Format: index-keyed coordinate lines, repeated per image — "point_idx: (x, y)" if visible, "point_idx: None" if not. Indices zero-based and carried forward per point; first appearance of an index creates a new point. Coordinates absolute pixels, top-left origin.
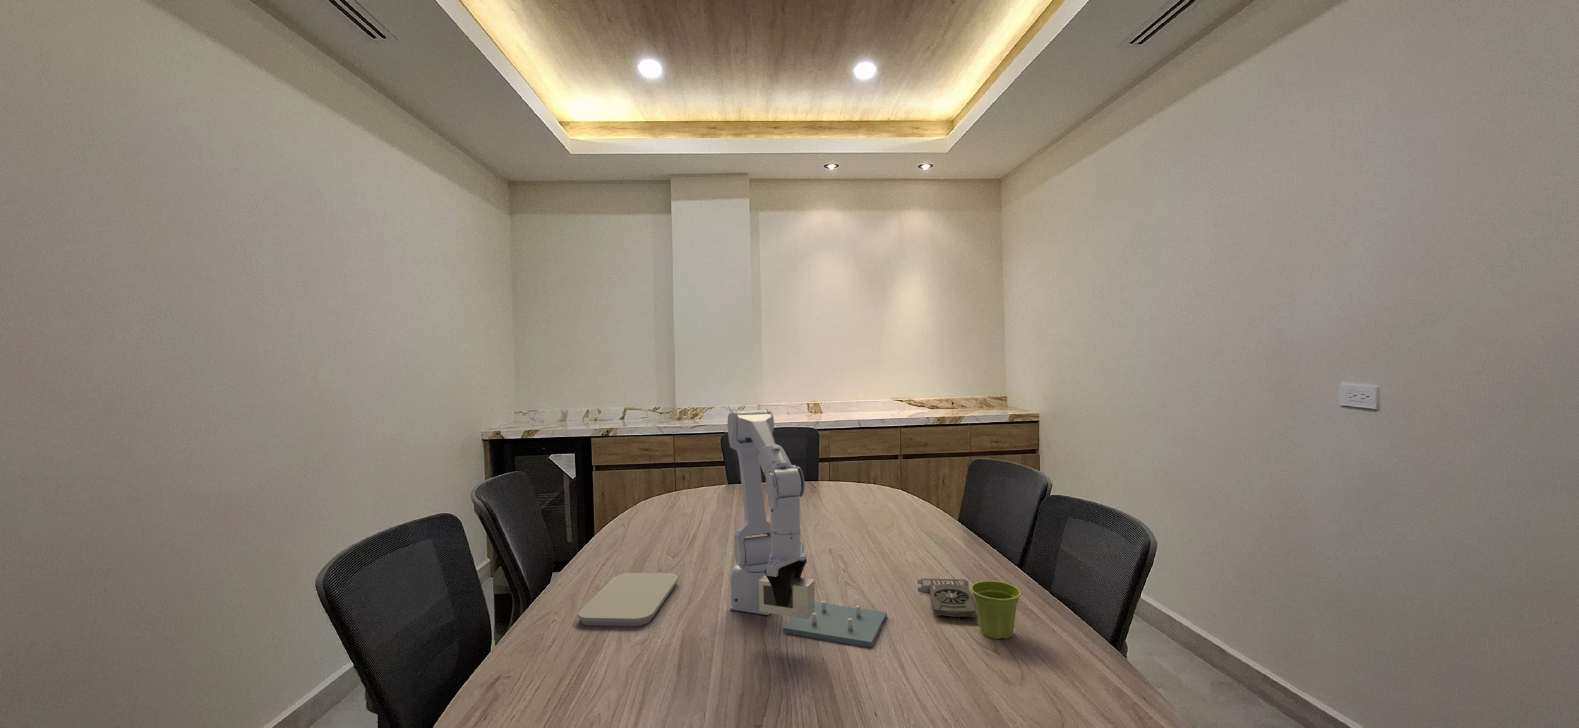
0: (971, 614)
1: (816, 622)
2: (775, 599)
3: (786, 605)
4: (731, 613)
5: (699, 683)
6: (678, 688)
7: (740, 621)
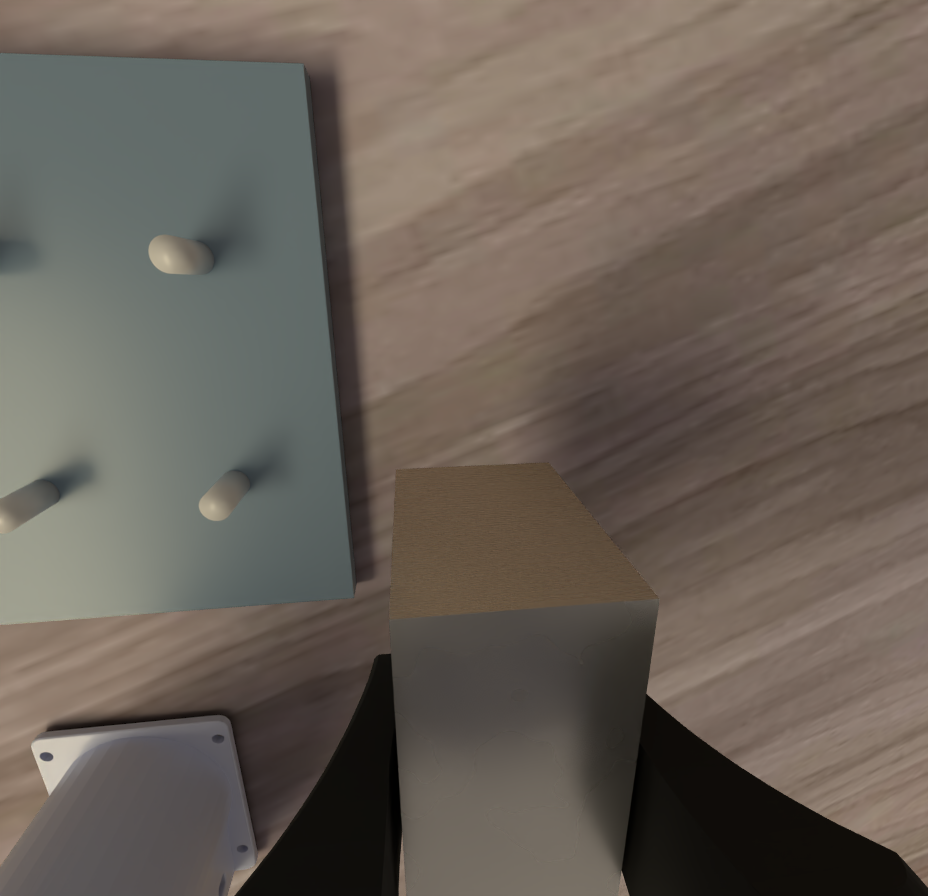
0: None
1: (231, 473)
2: None
3: None
4: None
5: (803, 663)
6: (836, 698)
7: None
